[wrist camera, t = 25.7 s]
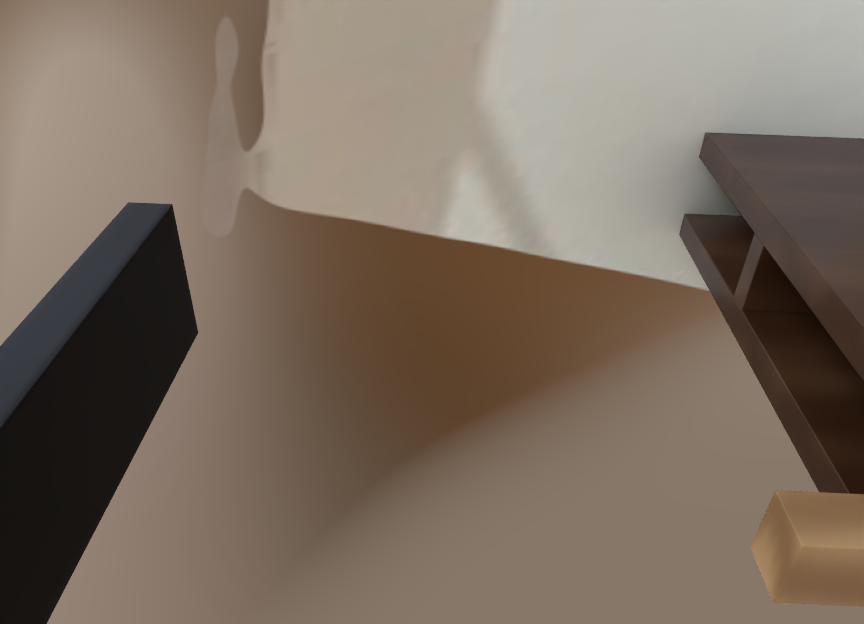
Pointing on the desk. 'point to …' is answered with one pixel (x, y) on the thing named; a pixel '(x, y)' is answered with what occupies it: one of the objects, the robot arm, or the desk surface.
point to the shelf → (794, 285)
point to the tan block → (812, 548)
